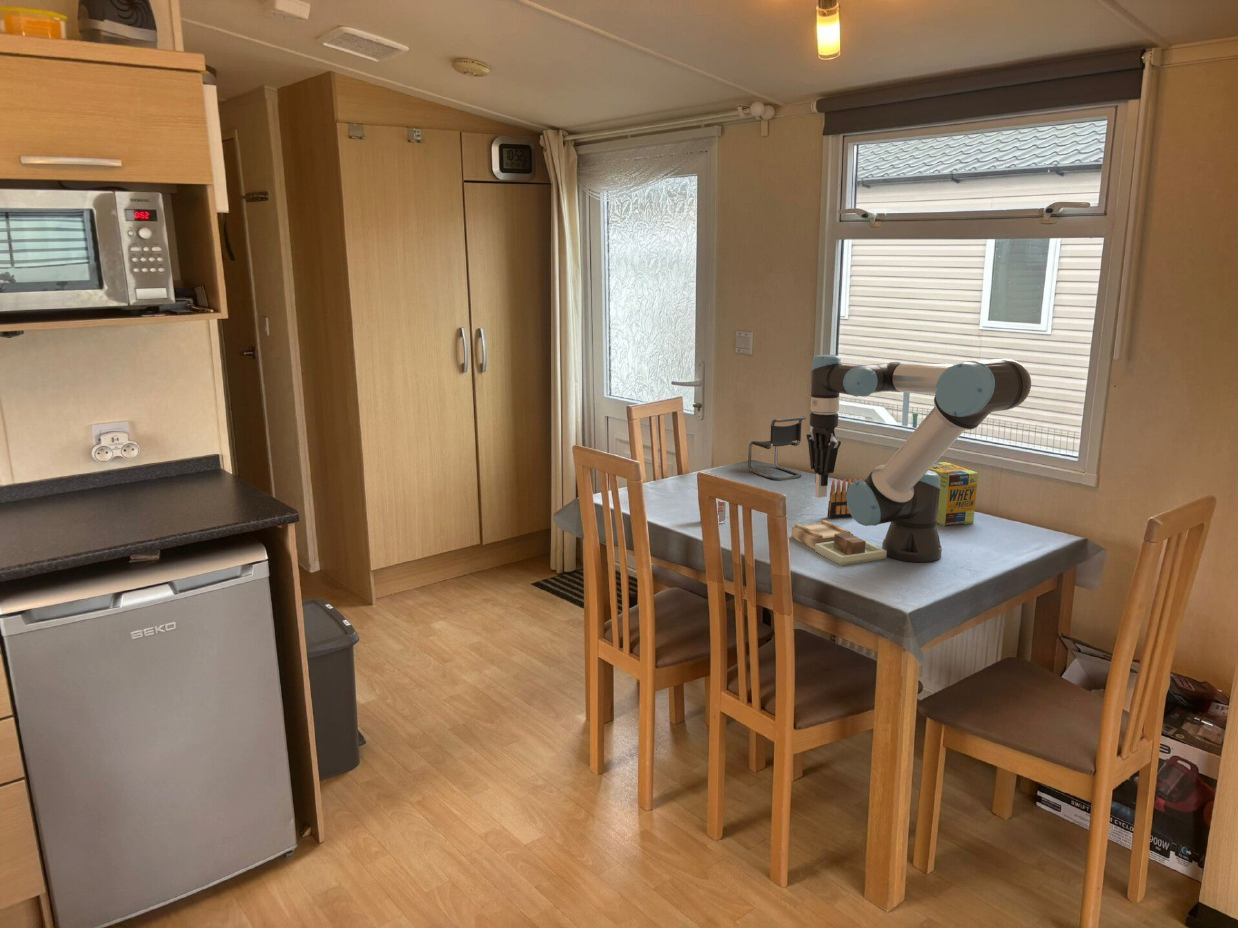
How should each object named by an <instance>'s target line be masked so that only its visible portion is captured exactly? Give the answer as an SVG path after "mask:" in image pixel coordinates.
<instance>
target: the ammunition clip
mask: <svg viewBox="0 0 1238 928" xmlns="http://www.w3.org/2000/svg"><path fill="white" fill-rule="evenodd" d="M859 480H862V477H860V478H859ZM846 481H848V482H846ZM856 481H857V478H853V481H852V480H851V478H848V480H846V478H844V479H843V480H842V484H841V479H840V478H839V479H837V482H836V483H835V479H834V478H833V479H832V481H831V485H830V491H829V492H830V493H829V501H828V507H827V515H826V516H827V518H828V519H830V520H831V519H832V520H834V519H836V520H837V519H848V518H853V517H852V516H851V514H850V512H849V509H848V506H847V499H846V495H847V490H848V488H849V486H850V485H851V484H852V483H854V482H856Z"/></svg>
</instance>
